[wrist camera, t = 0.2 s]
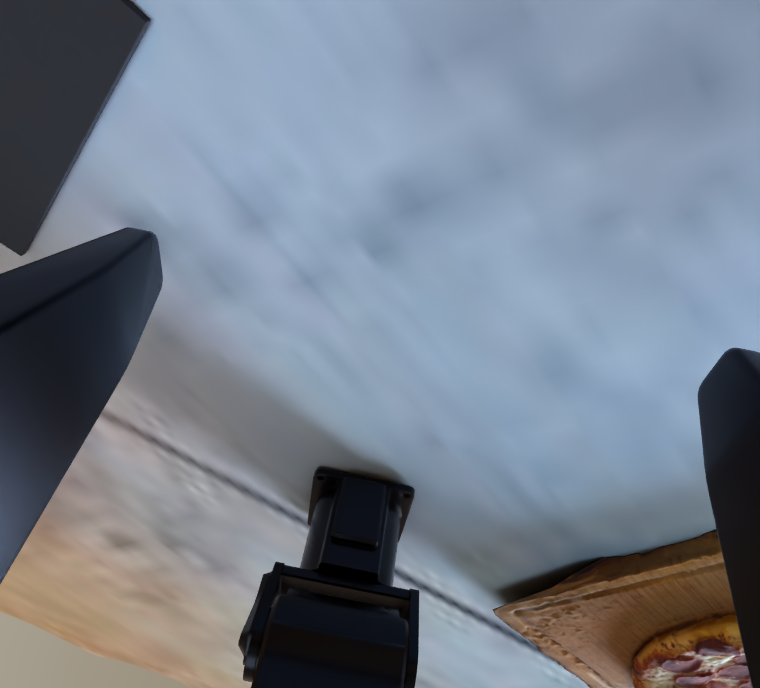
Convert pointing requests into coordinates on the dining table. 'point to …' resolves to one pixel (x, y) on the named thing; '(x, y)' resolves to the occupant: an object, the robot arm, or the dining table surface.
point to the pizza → (641, 620)
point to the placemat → (53, 96)
